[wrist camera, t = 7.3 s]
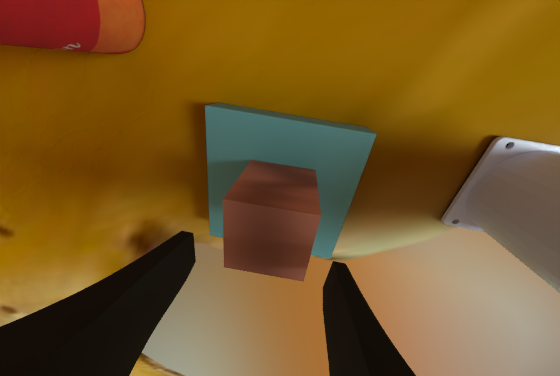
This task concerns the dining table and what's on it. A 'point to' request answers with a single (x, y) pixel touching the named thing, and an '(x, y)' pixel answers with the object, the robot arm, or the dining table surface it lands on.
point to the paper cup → (73, 24)
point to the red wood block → (271, 220)
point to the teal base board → (286, 159)
